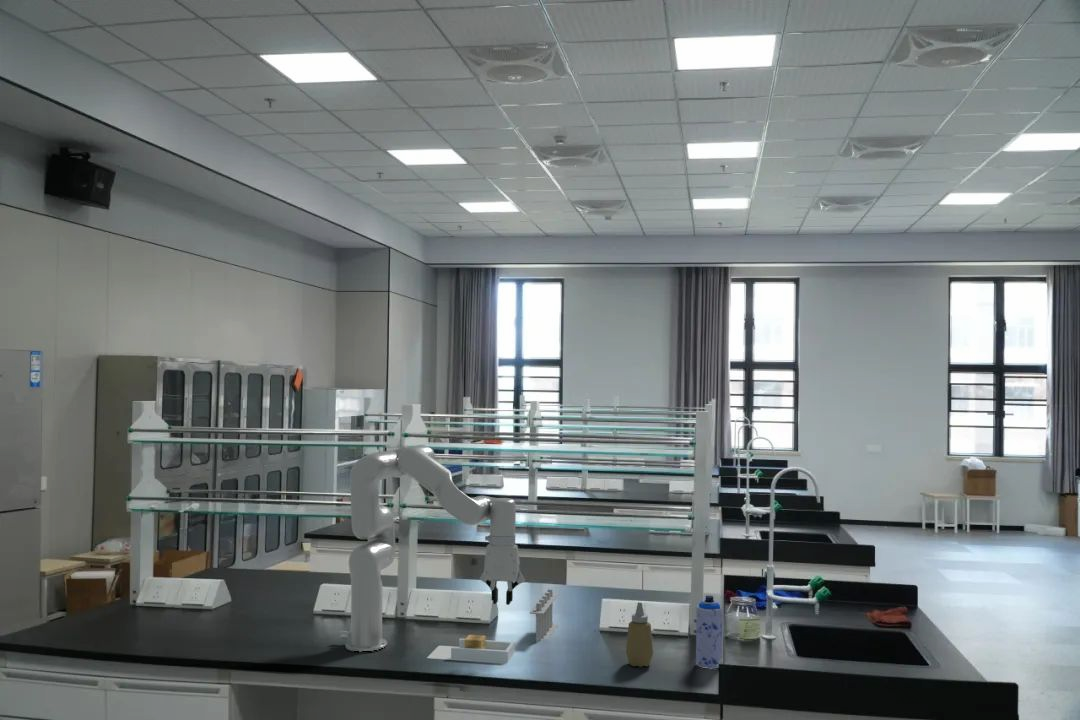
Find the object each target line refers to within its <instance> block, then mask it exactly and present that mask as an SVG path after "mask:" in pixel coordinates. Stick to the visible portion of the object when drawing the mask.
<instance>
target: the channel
mask: <svg viewBox="0 0 1080 720" xmlns="http://www.w3.org/2000/svg"><path fill="white" fill-rule="evenodd" d="M465 639H466V638H463V637H462V638H459V639H458V646H452V645H438V646H437V647H436V648H435V649H434V650H433V651H432V652H431V653H430V654H429V655H428V656H427V657H426V659H434V660H445V661H447V660H448V661H449V660H450V661H460V662H461V661H462V662H472V663H473V662H477V663H489V664H490V663H491V664H502V665H507V664H508V663H509V661H510V660H511V659H512V657H513V656H514V654H515V653H516V642H515V641H505V640H504V641H503V640H490V639H489V640H488V639H486V643H485V649H475V648H465Z"/></svg>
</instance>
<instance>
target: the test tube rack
mask: <svg viewBox="0 0 1080 720" xmlns="http://www.w3.org/2000/svg"><path fill="white" fill-rule="evenodd" d="M558 596H559V593H554V591H553V588H548V589H547V591H546V592H544V595H541V598H539V599H538V600H539V601H538V602H535V603H536V604H535V606H534V607H533V608H532V609H531V610H530V611H529V614H531V615H535V637H534V639H535V643H539V642H541V641H542V639H545V640H550V639H551V638H552V637H551V635H552V634H553V632H554V631H555V629H556V628H557V627H558V628H559V624H558V623H554V621H553V603H554V601H555V600H556V599H557V597H558ZM558 628H557V629H558ZM557 629H556V630H557ZM555 632H556V631H555ZM555 632H554V633H555ZM553 635H554V634H553ZM553 635H552V636H553ZM550 637H551V638H550ZM549 638H550V639H549Z"/></svg>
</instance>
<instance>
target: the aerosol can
mask: <svg viewBox="0 0 1080 720" xmlns="http://www.w3.org/2000/svg"><path fill="white" fill-rule="evenodd" d="M695 619H696V620H695V621H696V622H695V624H696V625H695V628H696V630H695V631H696V633H695V634H696V639H695V640H696V641H695V645H696V646H695V657H696V658H695V662H696V664H697V665H698V666H701V667H708V668H716V667H717V664H718V662H719V661H720V659H721V658H722V659H723V607H722V606H721V605H720V603H719V602H717V601H716V600H714V596H713V595H705V599H703V600H702V601H700V602H699V603H698V604H697V606H696V618H695ZM696 664H695V665H696Z"/></svg>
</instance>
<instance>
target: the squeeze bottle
mask: <svg viewBox="0 0 1080 720" xmlns="http://www.w3.org/2000/svg"><path fill="white" fill-rule="evenodd" d="M643 607H644V606H643V602H640V601H639V602H637V606H636V609H635V613H632V614H631V621H630V622H628V627H627V636H626V637H627V638H626V646H625V654H626V659H627V660H628V664H629V665H630V666H632V667H635V666H639V667H638V668H643V667H642V666H646V667H649V666H650V664H651V661H652V658H653V655H654V646H653V645H654V644H653V634H652V625H651V623H650V622H649V621H648V617H649V615H648V614H646V613H645V611H644V608H643ZM648 665H649V666H648Z"/></svg>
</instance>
